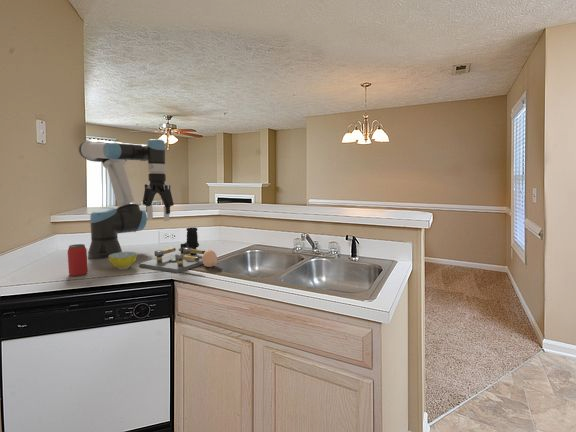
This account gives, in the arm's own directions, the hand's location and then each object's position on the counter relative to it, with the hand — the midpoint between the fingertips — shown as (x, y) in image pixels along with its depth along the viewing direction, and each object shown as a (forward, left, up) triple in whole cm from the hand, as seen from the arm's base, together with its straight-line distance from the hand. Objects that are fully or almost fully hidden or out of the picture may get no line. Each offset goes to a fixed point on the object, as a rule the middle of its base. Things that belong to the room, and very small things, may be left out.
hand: (158, 220), depth 161 cm
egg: (+29, +1, -20) cm, 35 cm away
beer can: (-12, -33, -20) cm, 40 cm away
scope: (+5, +17, -20) cm, 27 cm away
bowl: (-3, -18, -20) cm, 27 cm away
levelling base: (+12, -3, -20) cm, 23 cm away
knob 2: (+24, -8, -18) cm, 31 cm away
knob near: (+7, -3, -18) cm, 19 cm away
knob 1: (+18, +4, -18) cm, 26 cm away
